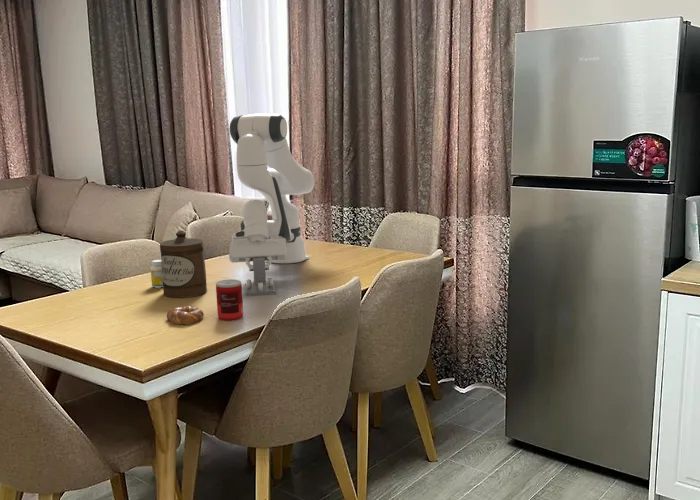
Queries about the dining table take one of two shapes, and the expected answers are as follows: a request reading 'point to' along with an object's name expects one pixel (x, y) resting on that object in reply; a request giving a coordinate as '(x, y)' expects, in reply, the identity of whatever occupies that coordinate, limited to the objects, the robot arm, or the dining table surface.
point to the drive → (259, 270)
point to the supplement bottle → (156, 274)
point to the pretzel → (184, 315)
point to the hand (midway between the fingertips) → (259, 269)
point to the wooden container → (183, 267)
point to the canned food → (229, 299)
